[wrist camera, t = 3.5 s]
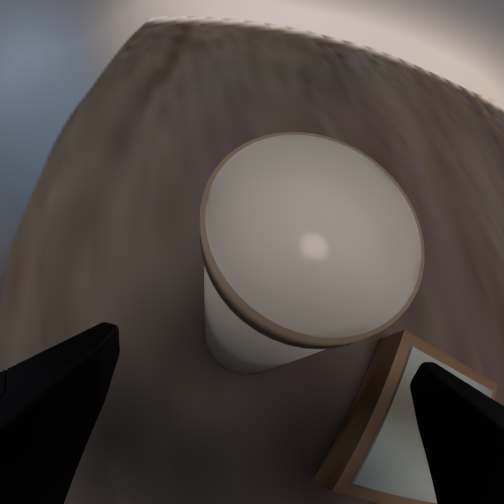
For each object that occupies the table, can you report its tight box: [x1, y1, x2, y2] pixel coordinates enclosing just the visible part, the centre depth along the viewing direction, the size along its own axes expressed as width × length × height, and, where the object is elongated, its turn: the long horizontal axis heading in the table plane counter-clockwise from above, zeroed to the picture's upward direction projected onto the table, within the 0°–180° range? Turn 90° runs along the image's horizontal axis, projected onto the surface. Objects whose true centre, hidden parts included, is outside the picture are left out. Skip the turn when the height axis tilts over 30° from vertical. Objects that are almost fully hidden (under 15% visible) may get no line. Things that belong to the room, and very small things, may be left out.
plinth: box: [314, 330, 498, 504], centre depth 15 cm, size 10×10×3 cm
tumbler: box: [200, 132, 425, 374], centre depth 12 cm, size 5×5×13 cm
